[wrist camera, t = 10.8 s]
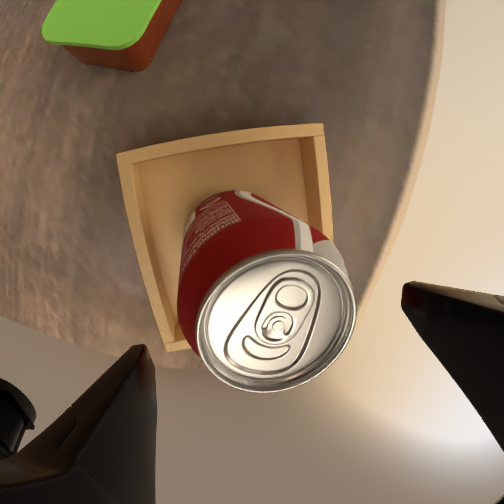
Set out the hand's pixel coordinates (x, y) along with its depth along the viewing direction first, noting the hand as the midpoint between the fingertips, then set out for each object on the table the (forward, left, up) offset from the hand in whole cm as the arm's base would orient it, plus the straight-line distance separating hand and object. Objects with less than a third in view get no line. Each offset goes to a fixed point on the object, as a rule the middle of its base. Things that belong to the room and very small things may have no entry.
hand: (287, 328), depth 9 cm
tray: (0, 0, -13) cm, 13 cm away
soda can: (0, 0, -12) cm, 12 cm away
